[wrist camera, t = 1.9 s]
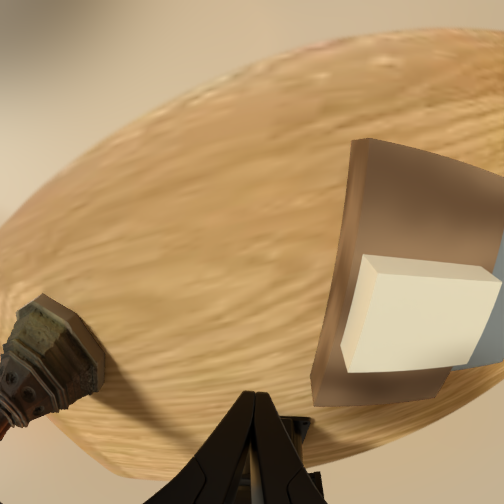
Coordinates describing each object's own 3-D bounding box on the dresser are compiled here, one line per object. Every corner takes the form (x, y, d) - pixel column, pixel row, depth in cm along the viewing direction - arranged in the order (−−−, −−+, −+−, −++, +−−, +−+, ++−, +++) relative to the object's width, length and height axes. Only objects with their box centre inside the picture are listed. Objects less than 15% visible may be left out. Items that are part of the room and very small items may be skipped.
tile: (451, 343, 16) (466, 363, 14) (340, 345, 16) (347, 372, 14) (480, 266, 14) (502, 282, 11) (362, 254, 14) (377, 273, 12)
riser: (421, 372, 21) (434, 397, 18) (310, 375, 22) (313, 406, 18) (482, 173, 15) (511, 180, 12) (351, 140, 16) (369, 137, 12)
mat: (500, 360, 20) (502, 361, 20) (424, 372, 21) (425, 374, 21) (553, 204, 14) (555, 205, 14) (484, 174, 15) (487, 175, 15)
